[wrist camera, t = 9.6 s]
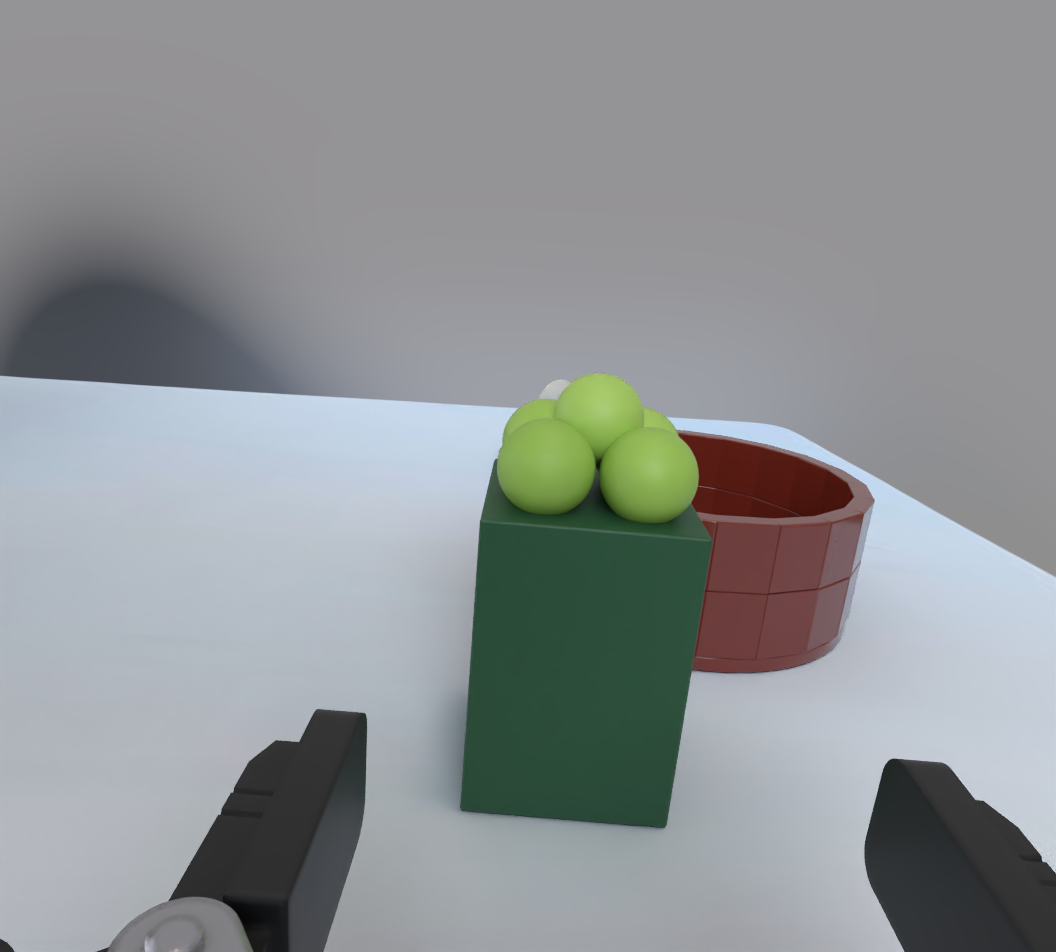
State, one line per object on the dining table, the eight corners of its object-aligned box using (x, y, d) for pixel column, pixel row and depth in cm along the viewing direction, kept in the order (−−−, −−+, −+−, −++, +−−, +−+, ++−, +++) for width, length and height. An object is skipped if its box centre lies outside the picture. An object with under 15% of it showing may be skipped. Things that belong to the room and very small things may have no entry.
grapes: (666, 829, 21) (736, 404, 17) (460, 811, 21) (489, 383, 17) (641, 709, 26) (690, 367, 23) (477, 695, 26) (502, 350, 23)
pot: (794, 720, 26) (828, 558, 24) (457, 592, 33) (465, 461, 32) (871, 586, 38) (897, 470, 36) (610, 513, 45) (622, 414, 44)
